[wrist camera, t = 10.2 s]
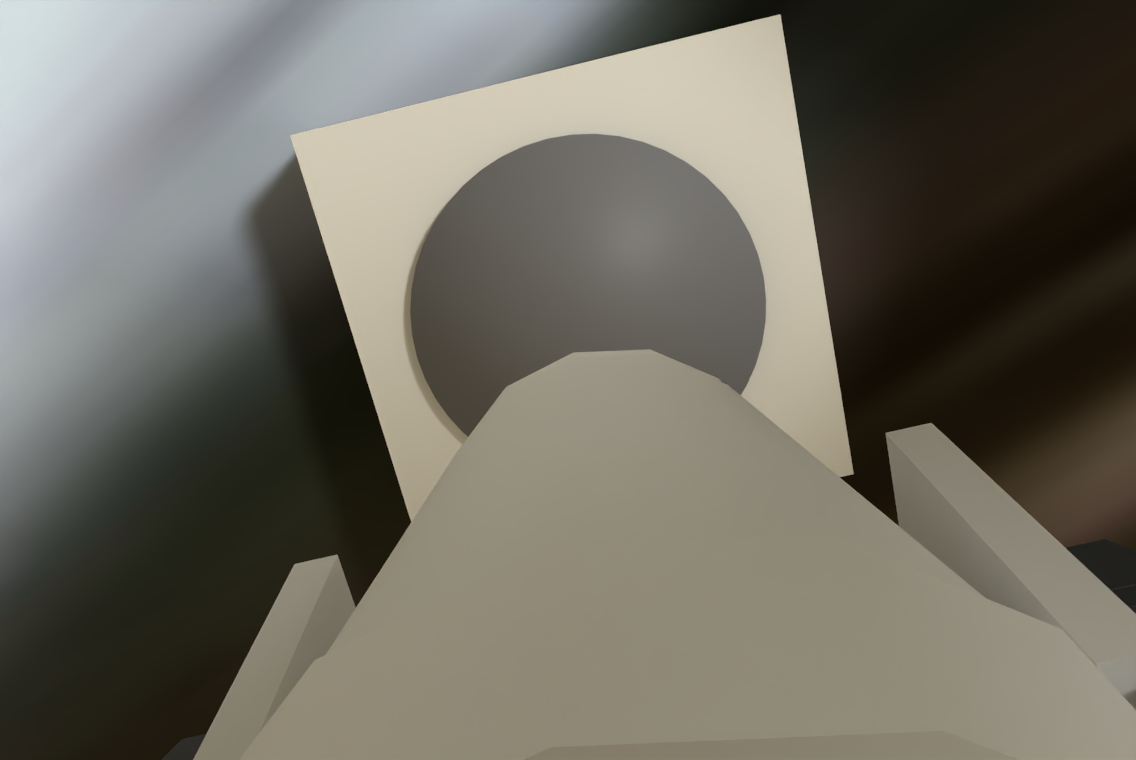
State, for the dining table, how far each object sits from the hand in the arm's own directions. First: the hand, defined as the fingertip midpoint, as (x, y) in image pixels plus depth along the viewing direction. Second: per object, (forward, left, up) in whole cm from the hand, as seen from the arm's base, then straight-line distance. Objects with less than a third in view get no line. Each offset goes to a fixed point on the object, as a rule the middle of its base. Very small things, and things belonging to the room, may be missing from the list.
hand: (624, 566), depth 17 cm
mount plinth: (0, 0, -22) cm, 22 cm away
